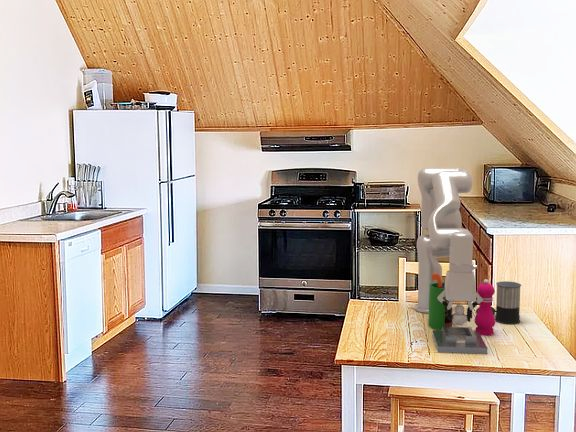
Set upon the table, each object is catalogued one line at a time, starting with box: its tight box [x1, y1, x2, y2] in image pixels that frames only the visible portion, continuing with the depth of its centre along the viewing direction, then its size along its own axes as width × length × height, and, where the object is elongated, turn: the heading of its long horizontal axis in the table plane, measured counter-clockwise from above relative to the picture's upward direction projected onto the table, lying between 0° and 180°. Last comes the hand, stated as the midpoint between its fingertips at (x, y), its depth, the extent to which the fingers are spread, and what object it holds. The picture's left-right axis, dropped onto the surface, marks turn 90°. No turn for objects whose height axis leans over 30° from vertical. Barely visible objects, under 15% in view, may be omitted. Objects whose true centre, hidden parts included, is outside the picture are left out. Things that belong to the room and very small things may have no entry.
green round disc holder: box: [427, 273, 454, 330], centre depth 238 cm, size 10×9×20 cm
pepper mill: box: [474, 278, 496, 337], centre depth 229 cm, size 7×7×20 cm
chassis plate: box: [432, 325, 488, 355], centre depth 217 cm, size 18×16×4 cm
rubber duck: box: [452, 302, 469, 326], centre depth 216 cm, size 5×7×8 cm
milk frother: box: [475, 280, 522, 325], centre depth 247 cm, size 14×16×15 cm
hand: (459, 319), depth 217 cm, fingers closed on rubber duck, 5 cm apart
